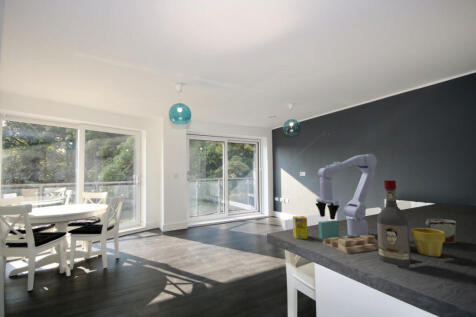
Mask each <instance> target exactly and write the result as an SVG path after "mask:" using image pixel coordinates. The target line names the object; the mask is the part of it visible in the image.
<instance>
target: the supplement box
mask: <svg viewBox="0 0 476 317" xmlns="http://www.w3.org/2000/svg"><path fill="white" fill-rule="evenodd" d="M292 228H293V229H292V230H293V231H292V232H293V237H294V238H295V239H296V240H297V239H301V240H302V239H304V240H305V239H308V217H305V216H304V215H302V216H301V215H292Z"/></svg>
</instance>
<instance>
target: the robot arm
mask: <svg viewBox="0 0 476 317" xmlns="http://www.w3.org/2000/svg"><path fill="white" fill-rule="evenodd" d="M354 165H355V166H356V167H357V169H359V170H360V172H361V173H362V174H361V177H360V180H359V182H358V185H357V187H356V190H355V192H354V195H353V197H352V199H351V200H349V201H348V202H347V204H346V205H345V206H344V207H343V214H344V216H345V217H346V224H347V234H348V235H347V236H352V235H356V236H357V237H360V235H365V234H368V235H369V225H368V221H367V220H366V219H365V218H366V210H367V206H366V205H365V200H366V198H367V195H368V192H369V190H370V187H371V184H372V182H373V180H374V177H375V174H376V167H377V165H378V159H377V157H376V155H374V153H369V154H368V153H367V154H357V155H355V156H352V157H350V158H348V159H346V160H344V161H342V162H340V161H334V162H332V164H329V165H326V166H325V167H320V168H319V170H318V171H317V173H316V175H317V177H318V179H319V186H320V189H319V190H320V198H316V202H315V206H316V207H317V209H318V212H319V216H320V217H321V218H324V217H325V216H326V208H327V209H328V212H329V220H330V221H333V220H335V219H336V215H337V212H338V209H339V208H340V205H339V200H334V199H333V180H332V179H333V178H334V177H335V176H337V175H339V174H341V173H343V172H345V169H346V168H349V167H351V166H354Z"/></svg>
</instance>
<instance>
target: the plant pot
mask: <svg viewBox="0 0 476 317" xmlns="http://www.w3.org/2000/svg"><path fill="white" fill-rule="evenodd" d="M410 234H411V238H412V239H413V241H414V244H415V247H416V249H417V250H416V251H417V252H418V253H419V254H421V255H424V256H429V257H441V256H442V250H443V249H442V248H443V244H444V243H443V242H444V241H445V234H444V232H443V231H440V230H435V229H428V227H427V228H425V227H414V228H413V227H412V228H411V229H410Z"/></svg>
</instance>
